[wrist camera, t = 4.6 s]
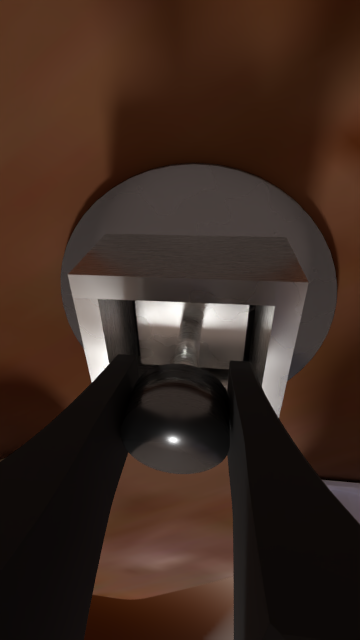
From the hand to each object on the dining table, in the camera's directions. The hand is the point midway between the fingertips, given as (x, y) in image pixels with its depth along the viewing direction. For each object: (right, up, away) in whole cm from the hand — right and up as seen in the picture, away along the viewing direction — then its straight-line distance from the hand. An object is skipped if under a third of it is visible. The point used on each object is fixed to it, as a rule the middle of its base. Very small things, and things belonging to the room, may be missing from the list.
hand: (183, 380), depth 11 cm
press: (+1, +3, +4) cm, 5 cm away
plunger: (0, +2, +3) cm, 4 cm away
